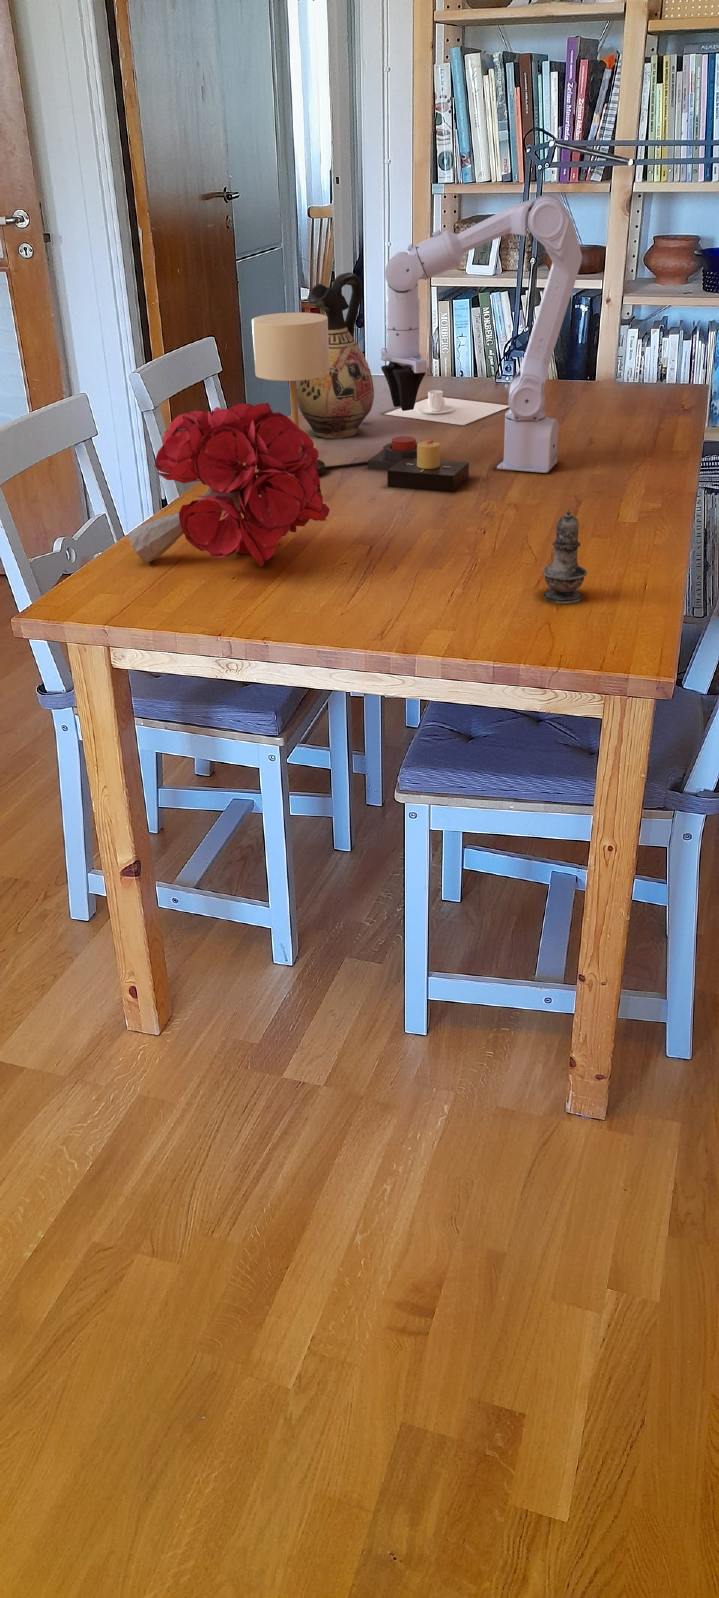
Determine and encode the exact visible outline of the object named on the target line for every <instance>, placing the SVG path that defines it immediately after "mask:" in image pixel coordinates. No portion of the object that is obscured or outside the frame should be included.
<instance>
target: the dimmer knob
mask: <svg viewBox="0 0 719 1598" xmlns="http://www.w3.org/2000/svg"><path fill="white" fill-rule="evenodd" d="M417 443H418V444H417V467H419V468H422V469H434V468H438V467H439V466H440V460H441V443H440V442H438V441H435V440H434V439H429V440H424V441H420V442H417Z"/></svg>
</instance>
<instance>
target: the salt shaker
mask: <svg viewBox="0 0 719 1598" xmlns="http://www.w3.org/2000/svg"><path fill="white" fill-rule="evenodd" d="M571 513H572V512H571V510H570V509H567V510H566V511H565V515H564V516H561V517H559V518H558V519H557V521H556V526H555V527H556V528H555V529H556V530H555V540H554V541H553V542H552V546H553V547H554V549H553V553H554V554H553V560H552V564H550V565H548V566H545V567H544V568H543V569H542V574H543V575H544V581H545V583H546V585H547V587H549V590H546V591H545V592H544V593H543V595H542V598H543V599H544V600H546V601H548V602H550V603H554V604H559V605H560V604H562V605H569V604H575V603H579V602H580V601H582V600H583V598H584V596H583V594H582V593H581V592H580V591H578V589H579V588H580V587H581V586H582V585H583V582H584V580H585V576H587V574H588V571H587V569H586V568H584V567H583V566H581V565H579V563H578V551H579V549H578V548H579V547H580V546H581V542H580V541H578V539H579V526H580V524H579V523H580V522H579V520H578V518H576V517H575V516H572V515H571Z"/></svg>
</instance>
